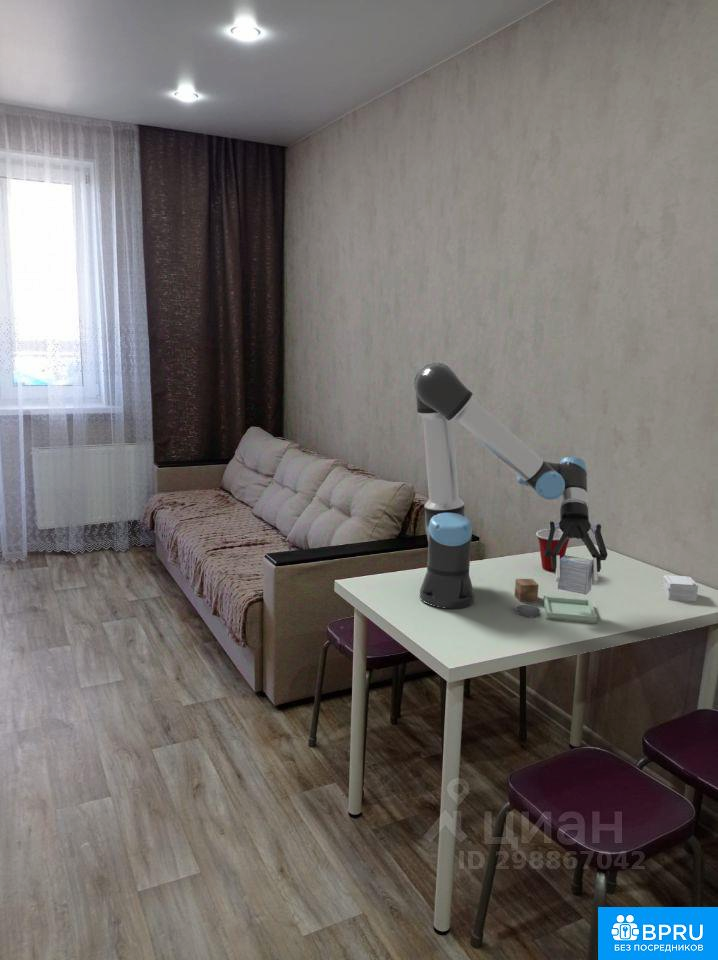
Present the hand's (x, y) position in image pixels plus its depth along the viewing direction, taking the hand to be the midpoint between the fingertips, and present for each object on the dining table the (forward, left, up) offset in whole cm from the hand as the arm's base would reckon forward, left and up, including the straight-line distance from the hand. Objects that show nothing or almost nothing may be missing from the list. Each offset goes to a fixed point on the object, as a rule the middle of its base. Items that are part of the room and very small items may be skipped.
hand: (576, 580), depth 191 cm
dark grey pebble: (-12, 0, -10) cm, 16 cm away
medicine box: (0, +3, -4) cm, 5 cm away
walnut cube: (-12, +11, -10) cm, 19 cm away
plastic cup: (-3, +40, -10) cm, 41 cm away
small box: (+32, +24, -10) cm, 41 cm away
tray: (-1, +3, -10) cm, 11 cm away
